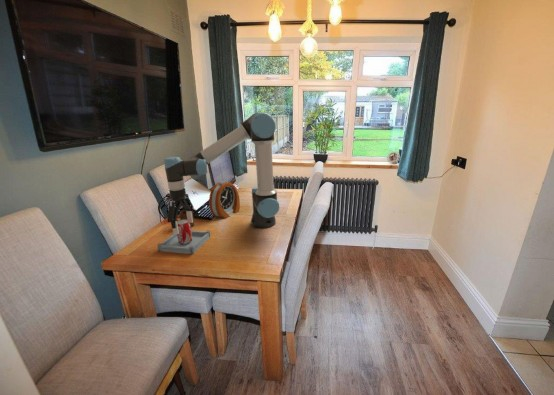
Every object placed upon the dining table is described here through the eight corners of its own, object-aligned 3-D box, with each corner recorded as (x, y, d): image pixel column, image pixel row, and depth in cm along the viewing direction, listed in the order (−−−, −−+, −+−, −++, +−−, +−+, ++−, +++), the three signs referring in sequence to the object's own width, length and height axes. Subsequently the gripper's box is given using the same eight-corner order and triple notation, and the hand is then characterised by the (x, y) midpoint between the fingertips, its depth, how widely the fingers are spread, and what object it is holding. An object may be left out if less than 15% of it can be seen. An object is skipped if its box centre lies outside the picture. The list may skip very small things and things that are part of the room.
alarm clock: (221, 220, 168) (218, 186, 160) (210, 218, 172) (206, 184, 165) (242, 209, 186) (240, 178, 179) (231, 207, 190) (229, 177, 183)
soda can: (192, 244, 137) (189, 223, 133) (178, 246, 135) (174, 225, 131) (192, 238, 143) (189, 217, 140) (179, 240, 141) (175, 219, 138)
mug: (179, 232, 153) (177, 217, 150) (172, 229, 157) (170, 214, 154) (197, 225, 162) (195, 211, 159) (189, 222, 166) (187, 208, 163)
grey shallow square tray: (210, 236, 146) (209, 230, 145) (192, 254, 128) (191, 247, 127) (179, 234, 150) (178, 228, 149) (158, 251, 133) (157, 244, 131)
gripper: (183, 181, 142) (189, 218, 149) (154, 196, 119) (162, 238, 126) (196, 182, 141) (201, 218, 147) (168, 196, 118) (176, 239, 124)
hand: (183, 227), depth 137 cm, fingers open, 13 cm apart
